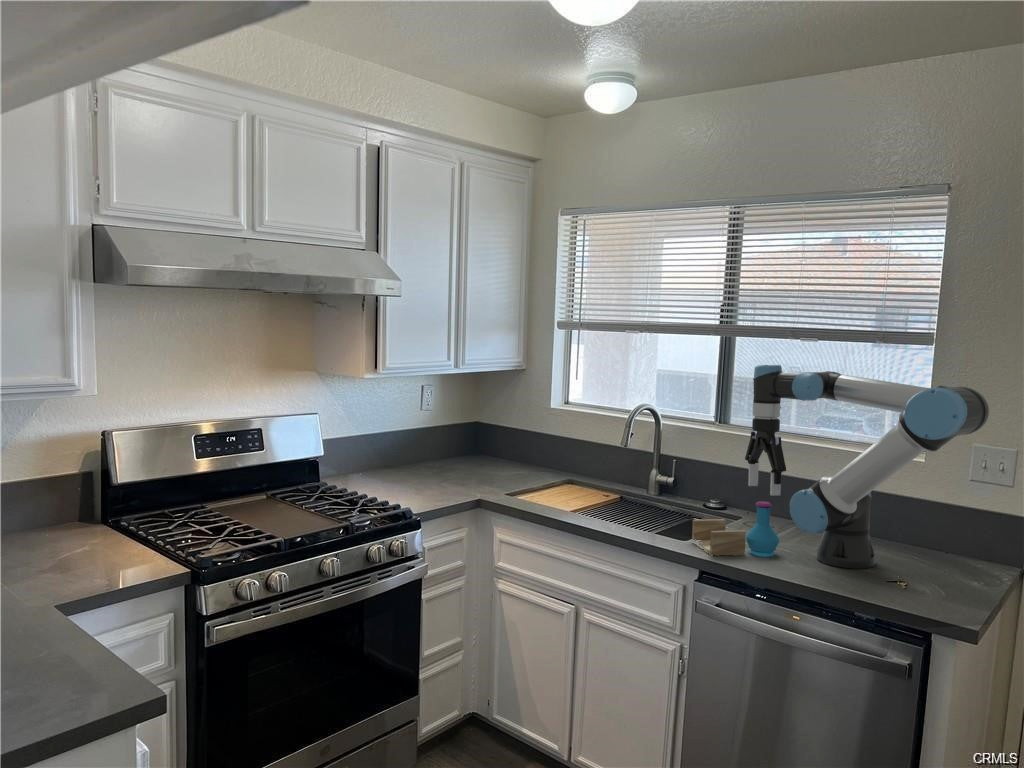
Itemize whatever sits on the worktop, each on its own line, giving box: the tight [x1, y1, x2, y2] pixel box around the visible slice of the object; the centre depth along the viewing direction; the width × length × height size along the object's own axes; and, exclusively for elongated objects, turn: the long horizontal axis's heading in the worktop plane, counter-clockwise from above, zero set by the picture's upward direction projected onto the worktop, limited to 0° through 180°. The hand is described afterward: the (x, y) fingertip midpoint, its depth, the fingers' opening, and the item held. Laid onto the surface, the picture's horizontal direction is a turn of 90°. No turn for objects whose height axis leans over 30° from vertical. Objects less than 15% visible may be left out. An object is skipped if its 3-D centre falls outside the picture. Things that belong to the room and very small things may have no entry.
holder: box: [691, 518, 747, 556], centre depth 224 cm, size 15×10×7 cm, turn 8°
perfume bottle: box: [745, 500, 780, 558], centre depth 219 cm, size 9×9×15 cm
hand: (763, 490), depth 219 cm, fingers open, 13 cm apart
